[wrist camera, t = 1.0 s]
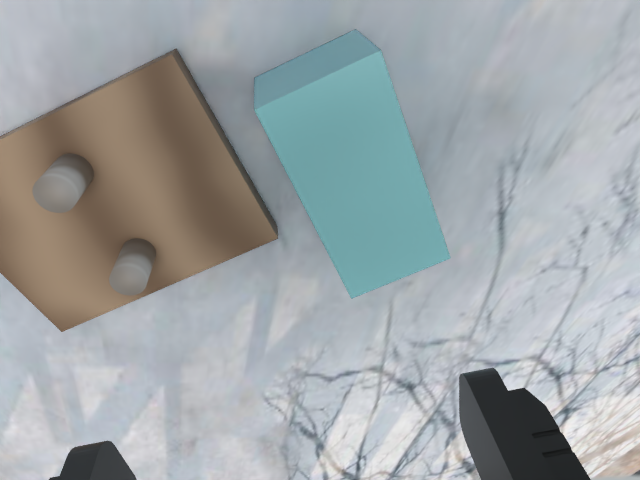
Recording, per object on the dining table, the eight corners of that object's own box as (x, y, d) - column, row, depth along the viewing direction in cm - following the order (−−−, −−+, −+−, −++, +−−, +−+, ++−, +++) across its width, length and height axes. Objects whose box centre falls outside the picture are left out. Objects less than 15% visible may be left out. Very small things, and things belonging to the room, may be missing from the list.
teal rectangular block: (355, 29, 25) (381, 50, 20) (419, 207, 31) (450, 258, 26) (254, 77, 26) (254, 109, 21) (336, 243, 32) (351, 298, 27)
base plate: (176, 48, 25) (161, 67, 21) (277, 226, 31) (280, 265, 27) (-74, 173, 27) (-129, 211, 23) (69, 317, 33) (44, 365, 29)
